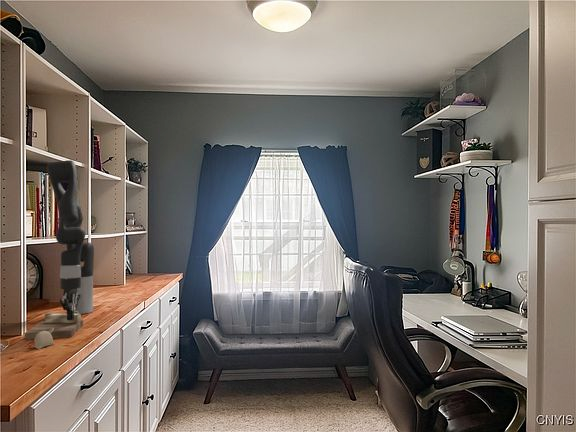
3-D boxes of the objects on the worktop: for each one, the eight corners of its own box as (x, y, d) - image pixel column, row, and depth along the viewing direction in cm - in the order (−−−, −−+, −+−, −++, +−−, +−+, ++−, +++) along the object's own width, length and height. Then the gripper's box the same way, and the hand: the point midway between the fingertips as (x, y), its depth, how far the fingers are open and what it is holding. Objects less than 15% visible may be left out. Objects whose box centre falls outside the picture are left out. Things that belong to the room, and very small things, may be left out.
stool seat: (42, 327, 186) (42, 312, 186) (83, 324, 190) (83, 310, 190) (24, 339, 167) (24, 323, 167) (71, 337, 170) (71, 321, 170)
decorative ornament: (30, 348, 156) (30, 332, 156) (50, 342, 164) (50, 327, 164) (38, 349, 154) (38, 334, 154) (59, 343, 162) (59, 328, 162)
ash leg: (43, 322, 182) (43, 314, 182) (47, 321, 185) (47, 313, 185) (77, 322, 182) (77, 314, 182) (80, 320, 185) (80, 313, 185)
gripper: (69, 275, 187) (69, 317, 187) (52, 278, 174) (52, 323, 174) (87, 274, 187) (87, 316, 187) (72, 278, 174) (71, 323, 174)
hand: (70, 320), depth 180 cm, fingers closed
